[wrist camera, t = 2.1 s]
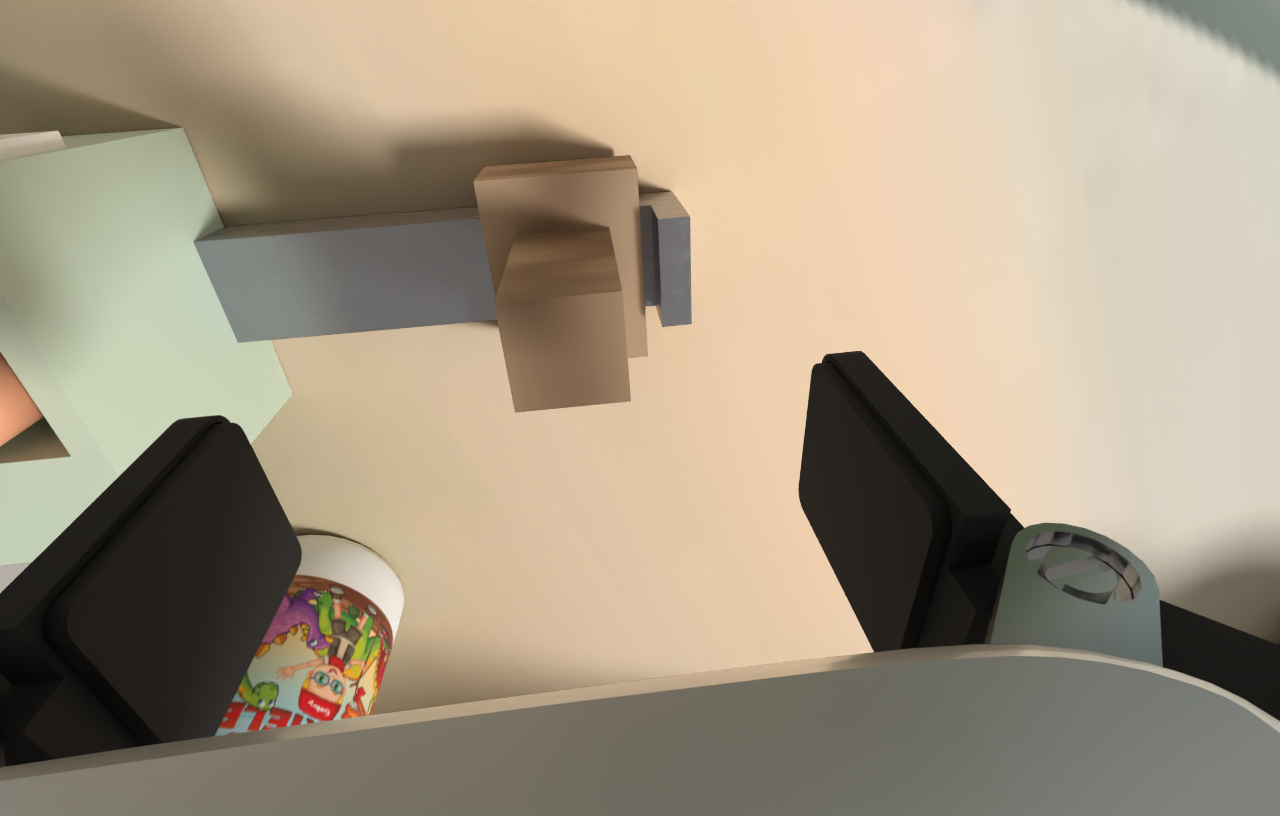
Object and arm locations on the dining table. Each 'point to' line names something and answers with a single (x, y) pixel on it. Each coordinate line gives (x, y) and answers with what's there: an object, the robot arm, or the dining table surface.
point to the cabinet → (110, 319)
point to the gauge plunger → (14, 404)
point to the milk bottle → (322, 641)
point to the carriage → (565, 277)
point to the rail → (400, 271)
